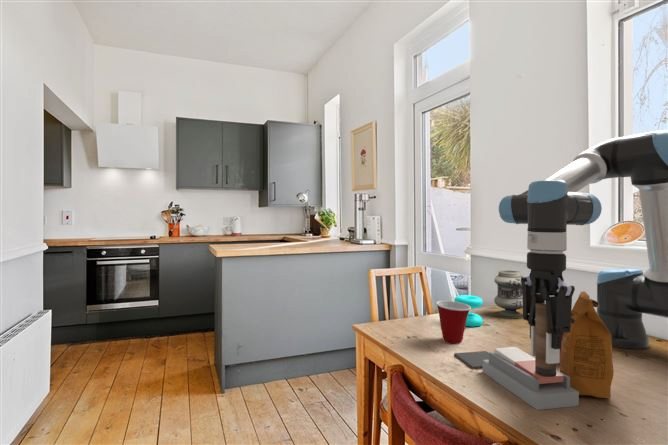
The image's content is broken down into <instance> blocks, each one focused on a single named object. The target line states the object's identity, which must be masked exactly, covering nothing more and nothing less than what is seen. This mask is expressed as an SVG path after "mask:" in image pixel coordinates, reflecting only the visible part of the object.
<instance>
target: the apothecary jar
mask: <svg viewBox="0 0 668 445" xmlns="http://www.w3.org/2000/svg"><path fill="white" fill-rule="evenodd" d="M497 274H498V275H495V277H494V283H495V284H496V285H497V295H496V296H495V297H494V300H493V302H494V303H495V305H496V306H498V308H501V309H503V310H500V311H498V312H497V313H496V315H497V316H498V317H502V318H507V319H523V312H522V313H521V312H519V311H517V310H520V309H521V310H522V309H523V287H522V283H521V277H524V276H523V272H522V271H520V270H516V269H500V270H498V273H497Z"/></svg>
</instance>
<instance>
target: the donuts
mask: <svg viewBox="0 0 668 445" xmlns="http://www.w3.org/2000/svg"><path fill="white" fill-rule="evenodd" d="M453 301H454V302H460V303H463V304H467V305H469V306H470V307H471V309H478V308H480V307H482V305H483V303H484V301H483V299H482V298H481V297H479V296H477V295H472V294H471V295H470V294H461V295H457V296H455V297H454V300H453ZM483 322H484V321H483V318H482V317H481V316H480V315H479V314H477V313H473V312H469V313H468V316H467V320H466V325H465V327H470V328H473V327H474V328H475V327H479V326H482V325H483Z"/></svg>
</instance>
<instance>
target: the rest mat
mask: <svg viewBox="0 0 668 445" xmlns="http://www.w3.org/2000/svg"><path fill="white" fill-rule="evenodd" d="M453 356H454V357H456V358H458V360H460V361H461V362H463V363H464V364H465V365H467V366H469V367H470V368H471V369H473V370H474V369H475V370H476V369H477V370H478V369H483V360H489V351H487V350H484V351H483V350H482V351H480V350H479V351H470V352H469V351H468V352H455V353H454V354H453Z"/></svg>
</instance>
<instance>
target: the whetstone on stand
mask: <svg viewBox="0 0 668 445" xmlns="http://www.w3.org/2000/svg"><path fill="white" fill-rule="evenodd" d="M488 353H489V360H483V368H482V373H484V374H485V375H487V377H488V376H489V378H491V379H493V380H494V381H495V382H497V383H498V384H500V385H501V386H503V387H504V388H505V389H506V390H508V391H509V392H511V393H513V394H514V395H515V396H517V398H518V399H520V400H522V401H524V402H525V403H527V404H528V405H529V406H530V407H532V408H534V410H537V411H541V410H551V409H552V410H553V409H558V408H559V409H560V408H570V407H577V406H579V403H580V399H579V398H580V397H579V396H580V395H579V391H577V390H575V389H573V388H571V387H570V377H569V376H567V375H565V374H563V373H561V372H560V370H557V369H556V371H557V372H559V373H560V374H562V375H564V379H563V382H557V383H546V384H539V380H538V379H536V378H535V377H533V376H531V375H529V374H528V373H526V372H524V371H523V370H521V369H519V368H518V367H516V366H514V365H513V364H511V363H509V362H508V361H506V360H504V359H503V358H501V357H499V356H498V355H496V354H494V352H492V351H488Z"/></svg>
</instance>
